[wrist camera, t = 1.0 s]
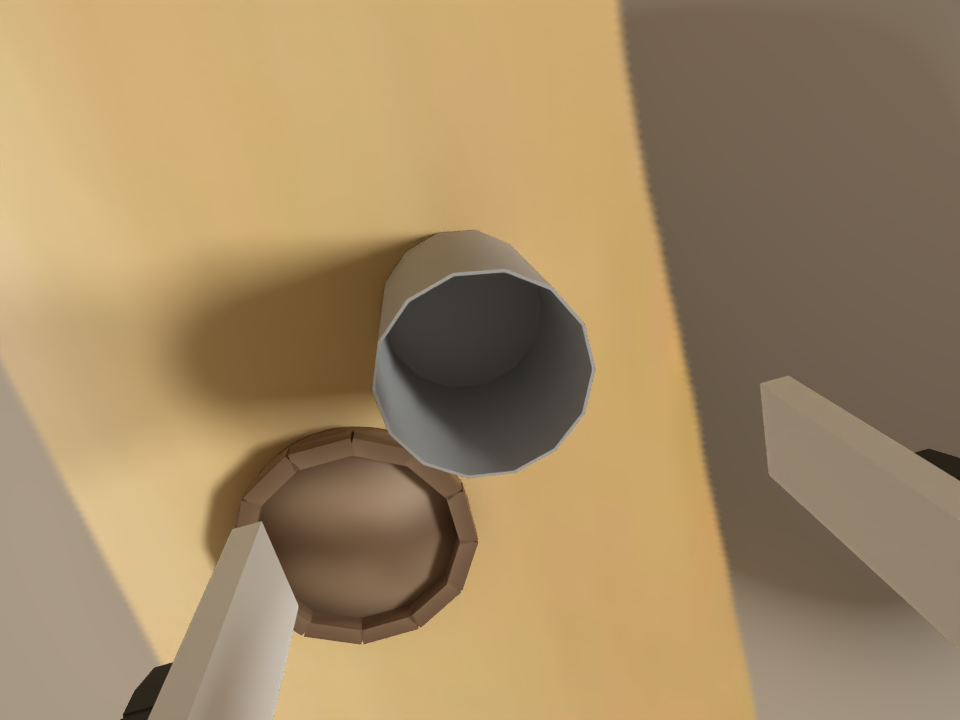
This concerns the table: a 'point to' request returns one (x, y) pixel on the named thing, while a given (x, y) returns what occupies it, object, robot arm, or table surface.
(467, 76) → the table surface
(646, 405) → the table surface
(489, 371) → the cup
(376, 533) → the tray
